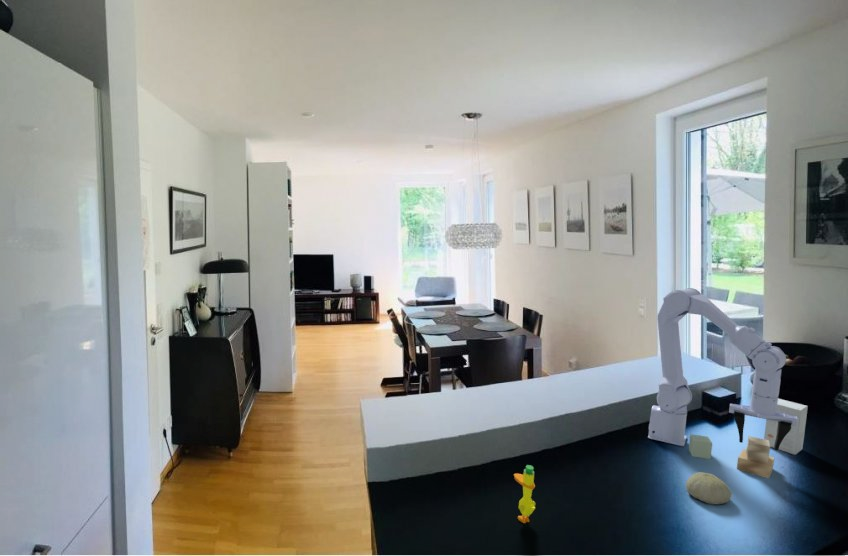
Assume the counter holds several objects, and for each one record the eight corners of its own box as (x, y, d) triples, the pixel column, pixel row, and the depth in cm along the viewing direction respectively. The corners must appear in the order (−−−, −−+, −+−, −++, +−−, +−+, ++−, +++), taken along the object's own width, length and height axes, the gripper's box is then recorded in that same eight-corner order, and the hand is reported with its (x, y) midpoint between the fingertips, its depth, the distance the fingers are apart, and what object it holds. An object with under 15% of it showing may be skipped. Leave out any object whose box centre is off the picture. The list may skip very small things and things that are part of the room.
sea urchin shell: (724, 480, 125) (733, 469, 119) (727, 515, 120) (736, 505, 114) (682, 473, 127) (688, 462, 121) (683, 507, 123) (690, 496, 117)
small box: (802, 449, 149) (808, 405, 147) (795, 455, 145) (801, 410, 143) (770, 439, 155) (775, 397, 153) (762, 444, 151) (768, 401, 149)
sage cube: (692, 456, 141) (693, 440, 141) (688, 449, 146) (690, 434, 145) (710, 459, 140) (712, 443, 140) (706, 452, 144) (708, 436, 144)
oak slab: (736, 470, 135) (738, 457, 135) (742, 461, 140) (743, 448, 140) (768, 479, 131) (770, 466, 130) (772, 470, 136) (774, 457, 135)
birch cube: (747, 458, 134) (749, 442, 133) (746, 452, 138) (748, 436, 137) (768, 463, 132) (770, 446, 131) (766, 456, 136) (768, 440, 135)
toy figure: (506, 513, 110) (509, 459, 109) (519, 509, 112) (522, 456, 111) (527, 530, 105) (531, 474, 103) (540, 525, 106) (545, 470, 105)
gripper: (731, 392, 133) (725, 443, 135) (801, 405, 126) (793, 458, 128) (732, 385, 139) (726, 433, 141) (798, 397, 132) (791, 448, 133)
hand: (758, 445), depth 135 cm, fingers open, 7 cm apart
